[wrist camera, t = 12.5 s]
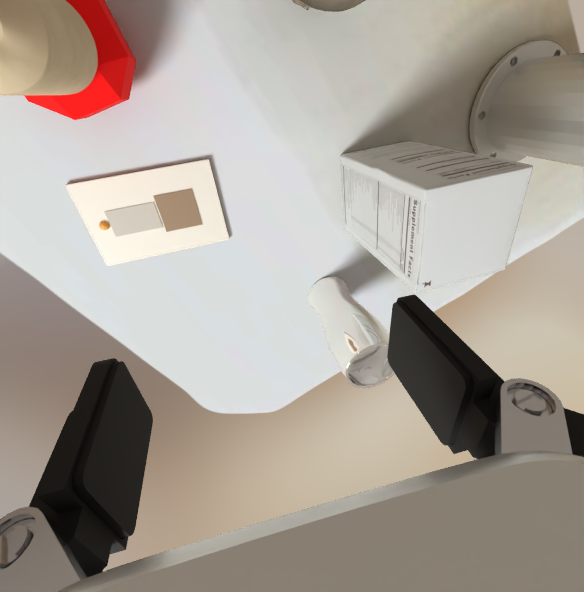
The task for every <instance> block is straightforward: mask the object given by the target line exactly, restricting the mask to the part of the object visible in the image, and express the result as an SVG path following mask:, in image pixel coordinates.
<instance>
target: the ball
mask: <svg viewBox="0 0 584 592" xmlns="http://www.w3.org/2000/svg"><path fill="white" fill-rule="evenodd" d="M66 1H67V2H68V3H69V4H70V5H71V6H72V7H73V8H74V9H75V10H76V11H77V12H78V13H79V15H80V16H81V17H82V19H83V20H84V22H85V23H86V25H87V26H88V28H89V30H90V32H91V34H92V36H93V39H94V42H95V45H96V49H97V57H98V65H97V71H96V74H95V76H94V78H93V80H92V82H91V83H90V84H89V85H88V86H87V87H86V88H85V89H83V90H82V91H80V92H78V93H75V94H70V95H24V96H25V97H26V99H27V100H28V101H29V102H32V103H34V104H37V105H39V106H42V107H44V108H47V109H49V110H52V111H54V112H57V113H59V114H62V115H64V116H67V117H69V118H72V119H74V120H77V119H82V118H87V117H90V116H92V115H94V114H97V113H99V112H101V111H103V110H106V109H108V108H110V107H112V106H114V105H117V104H119V103H121V102H123V101H126V100H128V99H129V96H130V91H131V86H132V80H133V75H134V69H135V64H136V60H135V58H134V56H133V54H132V52H131V50H130V48H129V46H128V44H127V42H126V41H125V39H124V37H123V35H122V33H121V31H120V29H119V27H118V25H117V23H116V22H115V20H114V18H113V16H112V14H111V12H110V10H109V8H108V6H107V4H106V3H105V1H104V0H66Z"/></svg>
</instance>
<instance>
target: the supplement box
mask: <svg viewBox="0 0 584 592" xmlns="http://www.w3.org/2000/svg"><path fill="white" fill-rule="evenodd" d="M340 164H341V185H342V204H343V225H344V229H345V230H346V231H347V232H348V233H349V234H350V235H351V236H352V237H353V238H355V239H356V240H357V241H358V242H359V243H360V244H361V245H362V246H364V247H365V248H366V249H367V250H368V251H369V252H370V253H371V254H372V255H373V256H375V257H376V258H377V259H378V260H379V261H380V262H381V263H382V264H383V265H384V266H386V267H387V268H388V269H389V270H390V271H391V272H392V273H393V274H394V275H396V276H397V277H398V278H399V279H400V280H401V281H402V282H403V283H405V284H406V285H407V286H408V287H409V288H410V289H411V290H412V291H413V292H415V293H419V292H423V291H427V290H431V289H435V288H439V287H442V286H446V285H450V284H454V283H457V282H461V281H465V280H469V279H472V278H476V277H480V276H484V275H488V274H492V273H495V272H498V271H502V270H505V268H506V265H507V261H508V257H509V253H510V250H511V246H512V242H513V239H514V235H515V231H516V228H517V224H518V220H519V217H520V213H521V209H522V205H523V201H524V198H525V194H526V191H527V187H528V183H529V180H530V176H531V173H532V169H533V166H532V165H528V164H524V163H519V162H514V161H509V160H504V159H499V158H494V157H489V156H484V155H479V154H473V153H469V152H463V151H458V150H453V149H448V148H443V147H438V146H433V145H428V144H423V143H418V142H413V141H407V142H401V143H396V144H391V145H386V146H381V147H376V148H371V149H366V150H360V151H355V152H351V153H345V154H342V155H341V156H340Z"/></svg>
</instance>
